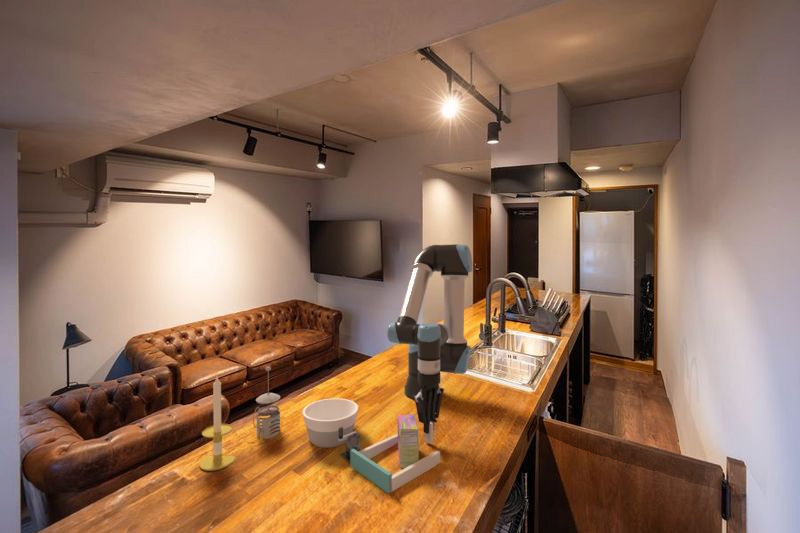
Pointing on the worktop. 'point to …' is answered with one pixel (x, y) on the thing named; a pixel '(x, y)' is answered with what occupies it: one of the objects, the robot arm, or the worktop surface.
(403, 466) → the box
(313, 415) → the bowl
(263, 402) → the french press
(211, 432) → the candle
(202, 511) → the worktop surface
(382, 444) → the bay
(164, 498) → the worktop surface
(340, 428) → the winch
